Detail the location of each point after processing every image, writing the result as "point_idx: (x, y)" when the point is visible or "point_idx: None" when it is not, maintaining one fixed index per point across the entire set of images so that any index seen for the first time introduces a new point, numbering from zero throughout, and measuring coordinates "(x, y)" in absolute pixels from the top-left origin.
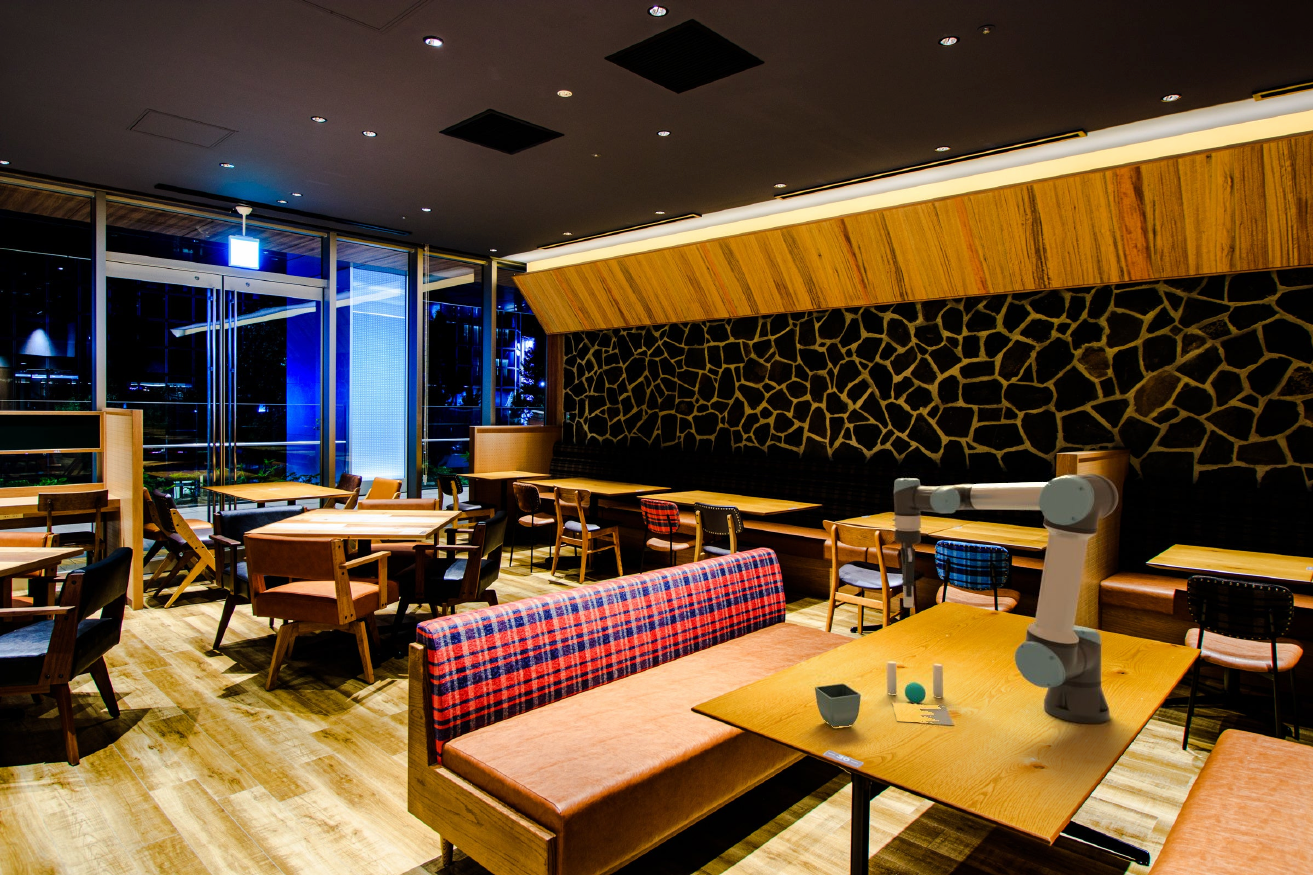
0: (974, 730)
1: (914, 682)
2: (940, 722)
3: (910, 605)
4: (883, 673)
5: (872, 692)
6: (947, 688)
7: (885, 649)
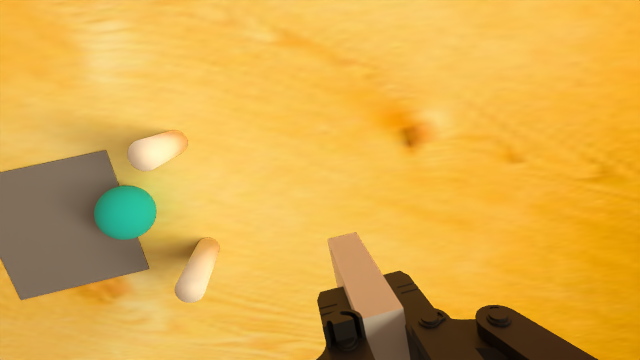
0: (20, 336)
1: (118, 219)
2: (20, 272)
3: (335, 276)
4: (337, 99)
5: (160, 91)
6: (279, 260)
7: (556, 77)
